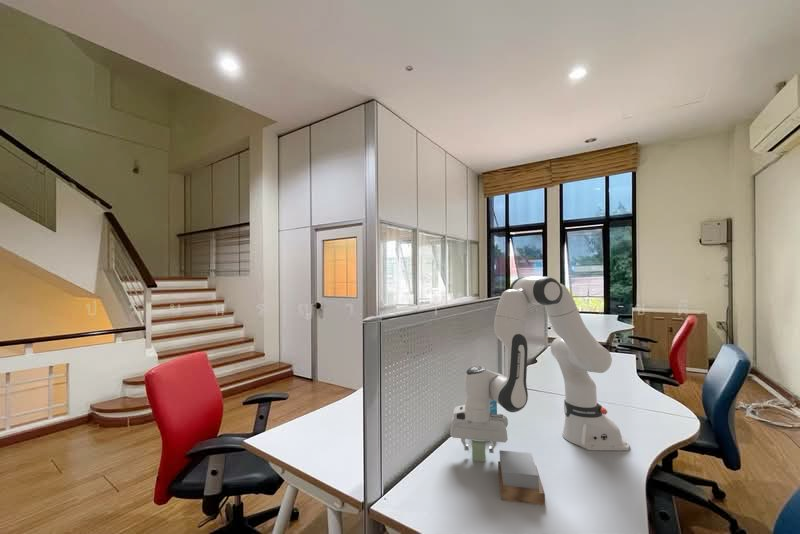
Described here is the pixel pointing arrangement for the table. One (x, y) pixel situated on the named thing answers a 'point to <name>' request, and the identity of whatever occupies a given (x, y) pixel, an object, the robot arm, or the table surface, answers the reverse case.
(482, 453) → the sage block
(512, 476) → the tower top
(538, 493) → the tower base
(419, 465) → the table surface
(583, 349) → the robot arm
